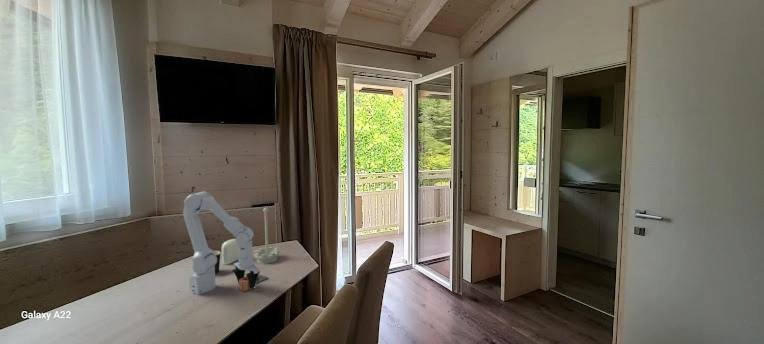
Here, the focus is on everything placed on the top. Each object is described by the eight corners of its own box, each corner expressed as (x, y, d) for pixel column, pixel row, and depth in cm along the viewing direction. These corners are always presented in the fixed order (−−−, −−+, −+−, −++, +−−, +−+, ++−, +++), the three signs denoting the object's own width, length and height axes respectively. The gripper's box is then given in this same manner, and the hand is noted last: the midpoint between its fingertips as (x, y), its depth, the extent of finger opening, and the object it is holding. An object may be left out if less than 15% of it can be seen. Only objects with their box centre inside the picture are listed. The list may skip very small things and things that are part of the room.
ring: (245, 291, 136) (244, 282, 135) (236, 288, 139) (236, 280, 138) (256, 286, 141) (256, 277, 140) (248, 283, 144) (247, 275, 143)
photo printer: (226, 265, 168) (225, 243, 167) (220, 264, 169) (219, 242, 168) (241, 259, 177) (240, 237, 176) (235, 258, 179) (234, 237, 178)
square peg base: (256, 286, 143) (255, 276, 143) (246, 282, 147) (245, 273, 146) (268, 280, 149) (268, 271, 149) (258, 277, 153) (258, 268, 153)
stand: (245, 294, 135) (244, 285, 135) (234, 291, 138) (234, 282, 138) (258, 288, 141) (258, 279, 141) (248, 284, 144) (248, 276, 144)
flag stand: (253, 258, 179) (251, 206, 176) (277, 254, 185) (275, 204, 182) (256, 265, 167) (254, 211, 165) (281, 261, 173) (279, 208, 171)
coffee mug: (224, 269, 162) (224, 251, 161) (214, 276, 154) (213, 256, 153) (204, 268, 163) (203, 250, 162) (192, 275, 155) (191, 256, 154)
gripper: (264, 256, 138) (265, 285, 139) (243, 250, 145) (244, 278, 147) (250, 261, 132) (251, 292, 133) (229, 255, 139) (230, 284, 141)
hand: (246, 285), depth 140 cm, fingers open, 7 cm apart
